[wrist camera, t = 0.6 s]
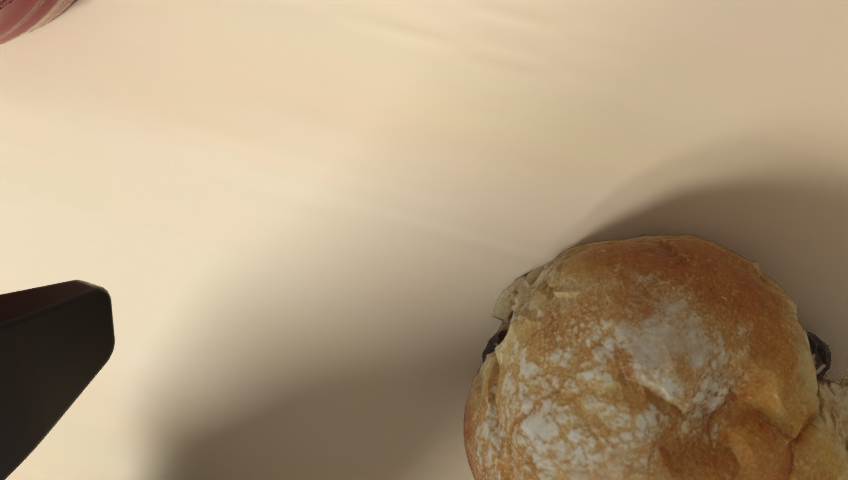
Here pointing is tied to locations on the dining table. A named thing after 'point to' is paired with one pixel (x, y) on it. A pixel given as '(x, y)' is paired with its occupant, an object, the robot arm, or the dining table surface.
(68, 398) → the robot arm
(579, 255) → the bread roll
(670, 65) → the dining table surface
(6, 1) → the canister
